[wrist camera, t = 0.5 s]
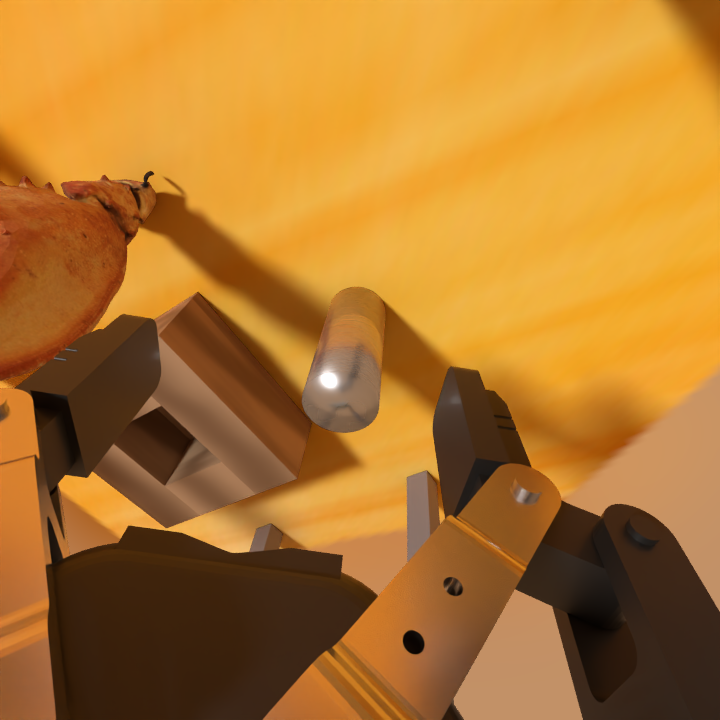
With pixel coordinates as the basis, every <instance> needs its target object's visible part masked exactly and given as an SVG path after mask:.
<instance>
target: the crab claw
mask: <svg viewBox="0 0 720 720" xmlns="http://www.w3.org/2000/svg"><path fill="white" fill-rule="evenodd" d="M152 175H154V173H153V172H152V171H150V172H148V173H146V174H145V176H144V182H137V181H132V180H113V181H111V180H109V179H108V178H107V177H106V176H105V175H103V176H102V178H101V180H98V181H70V182H63V183H62V184H61V186H62V189H63V191H64V194H65V195H66V196H67V197H68V198H69V199H68V198H66V197H63V196H61V195H59V194H57V193H56V192H55V191H54V189H53V187H52V185H51V183H50V182H49V183H47V184H46V185H45V186H44V187H42V188H36V187H35V186H34V185H33V184H32V182H31V181H30V180H29V179H28V178H27V177H26V176H23V177H22V179H21V181H20V184H19V186H7V185H5V184H4V183H3V182H1V181H0V381H2V380H6V379H9V378H13V377H16V376H19V375H22V374H26V373H28V372H31V371H33V370H35V369H37V368H39V367H41V366H43V365H45V364H46V363H47V362H48V361H50V360H51V359H53V360H54V357H55V356H56V355H57V354H59V353H60V352H61V351H62V350H66V347H67V346H69V345H70V344H71V343H73V342H74V341H75V340H76V339H78V338H79V337H81V336H83V335H86V334H88V333H91V331H92V330H93V329H94V327H95V326H96V325H97V324H98V323H99V321H100V319H101V318H102V316H103V315H104V313H105V312H106V310H107V308H108V306H109V304H110V302H111V301H112V299H113V297H114V296H115V294H116V293H117V292H118V291H119V289H120V287H121V285H122V282H123V280H124V276H125V271H126V263H127V245H128V244H129V243H130V242H131V241H132V239H133V238H134V237H135V236H136V234H137V232H138V225H139V224H138V223H141V224H143V223H144V222H145V220H146V218H147V217H148V216H149V214H150V213H151V212H152V210H153V208H154V206H155V204H156V193H155V191H154V190H153V189H152V187H151V185H150V183H149V182H147V180H148V177H149V176H152Z"/></svg>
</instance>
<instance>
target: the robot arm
mask: <svg viewBox="0 0 720 720" xmlns="http://www.w3.org/2000/svg"><path fill="white" fill-rule="evenodd" d="M160 377H161V361H160V351H159V341H158V332H157V325H156V322H155V321H154V320H153V319H151V318H144V317H138V316H132V315H125V314H123V315H120V316H119V317H118V318H116V319H115V320H114V321H113V322H112V323H110V324H109V325H108V326H107V327H106V328H104V329H103V330H102V329H98V330H96V331H93V332H91V333H88V334H86V335H83V336H81V337H79V338H78V339H76V340H75V341H74V342H73V343H71V344H70V345H69V346H67V347H66V350H62V351H61V352H60V353H59V354H57V355H56V356H55V357H54V360H53V359H51V360H50V361H48V362H47V363H46V364H45V365H43V366H42V367H41V368H40V369H38V370H37V371H36V372H35V373H33V374H32V375H31V376H29V377H28V378H27V379H26V380H24V381H23V382H22V383H21V384H19V385H18V386H17V387H15V388H14V389H13V388H0V720H464V719H463V717H462V716H461V715H460V713H459V711H458V710H457V709H456V707H455V705H454V704H453V702H452V700H453V698H454V697H455V695H456V693H457V691H458V689H459V688H460V686H461V684H462V682H463V681H464V679H465V677H466V675H467V674H468V672H469V670H470V668H471V666H472V665H473V663H474V661H475V659H476V657H477V656H478V654H479V652H480V650H481V649H482V647H483V645H484V643H485V641H486V640H487V638H488V636H489V634H490V632H491V631H492V629H493V627H494V625H495V623H496V622H497V620H498V618H499V616H500V615H501V613H502V611H503V609H504V608H505V606H506V603H507V602H508V600H509V599H510V596H511V595H512V593H513V591H514V590H515V589H516V590H518V591H520V592H522V593H525V594H527V595H529V596H532V597H533V598H535V599H538V600H540V601H542V602H544V603H546V604H549V605H551V606H552V607H553V610H554V614H555V618H556V622H557V625H558V629H559V633H560V636H561V640H562V643H563V648H564V651H565V655H566V658H567V662H568V666H569V670H570V673H571V677H572V680H573V684H574V688H575V691H576V695H577V699H578V702H579V706H580V710H581V713H582V717H583V720H720V612H719V610H718V608H717V607H716V605H715V603H714V602H713V600H712V598H711V597H710V595H709V593H708V592H707V590H706V588H705V586H704V585H703V583H702V581H701V580H700V578H699V577H698V575H697V573H696V571H695V570H694V568H693V566H692V565H691V563H690V561H689V560H688V558H687V556H686V555H685V553H684V551H683V550H682V548H681V546H680V545H679V543H678V541H677V540H676V538H675V537H674V535H673V534H672V533H671V532H670V530H669V529H668V528H667V527H666V526H664V524H662V523H661V522H660V521H659V520H657V519H656V518H655V517H653V516H652V515H650V514H648V513H647V512H645V511H643V510H641V509H638V508H636V507H633V506H629V505H624V504H615V505H611V506H609V507H608V508H607V509H606V510H605V511H604V513H603V514H602V516H601V517H600V516H598V515H595V514H593V513H590V512H588V511H585V510H582V509H580V508H577V507H575V506H572V505H570V504H568V503H566V502H564V501H562V500H561V496H560V493H559V491H558V489H557V488H556V486H555V485H554V484H553V482H552V481H550V480H549V479H548V478H547V477H546V476H545V475H543V474H542V473H540V472H539V471H537V470H535V469H533V468H532V467H531V465H530V462H529V460H528V457H527V455H526V452H525V449H524V447H523V444H522V442H521V439H520V437H519V434H518V432H517V431H516V427H515V424H514V422H513V420H511V418H512V417H511V414H510V412H509V409H508V407H507V404H506V403H505V402H504V401H503V400H502V399H501V398H500V397H499V396H498V395H497V393H496V392H495V391H490V390H485V388H484V385H483V382H482V380H481V377H480V374H479V372H478V371H477V370H471V369H465V368H458V367H452V366H451V367H450V368H449V369H448V371H447V374H446V377H445V380H444V384H443V387H442V390H441V393H440V397H439V400H438V403H437V406H436V410H435V414H434V419H433V437H434V444H435V451H436V458H437V465H438V472H439V479H440V486H441V493H442V500H443V507H444V513H445V520H444V521H443V522H442V523H441V524H440V525H439V527H438V528H437V529H436V530H435V531H434V532H433V534H432V535H431V536H430V537H429V538H428V539H427V540H426V542H425V543H424V544H423V545H422V546H421V547H420V549H419V550H418V551H417V552H416V553H415V554H414V556H413V557H412V558H411V559H410V560H409V561H408V562H407V564H406V565H405V566H404V567H403V568H402V569H401V571H400V572H399V573H398V574H397V575H396V576H395V577H394V579H393V580H392V581H391V582H390V583H389V584H388V586H387V587H386V588H385V589H384V590H383V591H382V592H381V594H380V595H379V596H378V595H377V594H376V593H374V592H373V591H372V590H371V589H370V588H368V587H367V586H365V585H364V584H363V583H361V582H360V581H358V580H356V579H354V578H352V577H351V576H348V575H346V574H344V573H342V572H341V568H342V557H343V555H337V554H330V553H321V552H315V551H308V550H301V549H294V548H287V549H276V550H266V551H255V552H245V553H230V552H227V551H225V550H222V549H220V548H217V547H215V546H212V545H210V544H208V543H205V542H203V541H200V540H198V539H195V538H193V537H191V536H188V535H186V534H183V533H179V532H171V531H164V530H157V529H150V528H143V527H135V526H128V528H127V529H126V531H125V533H124V534H123V536H122V538H121V539H120V541H119V543H113V544H107V545H102V546H97V547H94V548H90V549H87V550H84V551H81V552H78V553H76V554H73V555H70V552H69V546H68V540H67V532H66V526H65V519H64V512H63V506H62V500H61V493H60V489H59V486H58V483H59V482H60V480H61V479H62V478H63V477H64V476H65V475H71V476H78V477H85V478H87V477H88V476H89V475H90V474H91V472H92V471H93V470H94V468H95V467H96V466H97V465H98V463H99V462H100V461H101V459H102V458H103V457H104V456H105V454H106V453H107V452H108V450H109V449H110V448H111V447H112V445H113V444H114V443H115V441H116V440H117V439H118V438H119V436H120V435H121V434H122V432H123V431H124V430H125V429H126V427H127V426H128V425H129V424H130V422H131V421H132V420H133V418H134V417H135V416H136V415H137V413H138V412H139V411H140V409H141V408H142V407H143V406H144V404H145V403H146V402H147V400H148V399H149V398H150V397H151V395H152V394H153V393H154V391H155V390H156V388H157V386H158V384H159V381H160Z"/></svg>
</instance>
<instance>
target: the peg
mask: <svg viewBox="0 0 720 720" xmlns="http://www.w3.org/2000/svg"><path fill="white" fill-rule="evenodd" d="M385 318H386V310H385V306H384V303H383V301H382V300H381V298H380V297H379V296H378V295H377V294H376V293H374V292H373V291H371V290H369V289H366V288H362V287H350V288H347V289H344V290H342V291H340V292H339V293H338V294H336V296H335V297H334V298H333V300H332V301H331V304H330V307H329V310H328V314H327V317H326V320H325V323H324V327H323V330H322V333H321V336H320V340H319V343H318V346H317V349H316V353H315V356H314V359H313V362H312V365H311V369H310V372H309V375H308V378H307V382H306V385H305V388H304V391H303V395H302V405H303V408H304V411H305V412H306V414H307V416H308V417H309V418H310V419H311V420H312V421H313V422H314V423H316V424H317V425H319V426H320V427H322V428H324V429H327V430H330V431H334V432H341V433H348V432H354V431H358V430H361V429H363V428H365V427H367V426H368V425H369V424H371V423H372V422H373V420H374V419H375V418H376V416H377V414H378V410H379V400H380V386H381V372H382V359H383V345H384V332H385Z"/></svg>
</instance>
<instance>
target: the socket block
mask: <svg viewBox="0 0 720 720" xmlns="http://www.w3.org/2000/svg"><path fill="white" fill-rule="evenodd" d="M154 321H155V322H156V325H157V332H158V341H159V351H160V361H161V377H160V381H159V384H158V386H157V388H156V390H155V391H154V393H153V394H152V395H151V397H150V398H149V399H148V400H147V402H146V403H145V404H144V406H143V407H142V408H141V409H140V411H139V412H138V413H137V415H136V416H135V417H134V418H133V420H132V421H131V422H130V424H129V425H128V426H127V427H126V429H125V430H124V431H123V432H122V434H121V435H120V436H119V438H118V439H117V440H116V441H115V443H114V444H113V445H112V447H111V448H110V449H109V450H108V452H107V453H106V454H105V456H104V457H103V458H102V459H101V461H100V462H99V463H98V465H97V466H96V467H95V468H94V470H93V472H94V473H95V474H97V475H98V476H99V477H101V478H102V479H103V480H104V481H106V482H107V483H108V484H110V485H111V486H112V487H113V488H115V489H116V490H117V491H119V492H120V493H121V494H123V495H124V496H125V497H126V498H128V499H129V500H130V501H132V502H133V503H134V504H135V505H137V506H138V507H139V508H141V509H142V510H143V511H145V512H146V513H147V514H148V515H150V516H151V517H152V518H154V519H155V520H156V521H157V522H159V523H160V524H161V525H163V526H164V527H165V528H169V527H171V526H174V525H176V524H179V523H182V522H184V521H187V520H190V519H192V518H195V517H198V516H200V515H203V514H205V513H208V512H211V511H213V510H216V509H219V508H221V507H224V506H227V505H229V504H232V503H235V502H237V501H240V500H242V499H245V498H248V497H250V496H253V495H256V494H258V493H261V492H264V491H266V490H269V489H271V488H274V487H277V486H279V485H282V484H285V483H287V482H290V481H293V480H295V479H297V478H298V474H299V470H300V466H301V463H302V459H303V455H304V451H305V447H306V443H307V439H308V435H309V432H310V428H311V424H312V423H311V422H310V421H309V420H308V419H307V417H306V416H305V415H304V414H303V413H302V412H301V410H300V409H299V408H298V407H297V406H296V405H295V404H294V402H293V401H292V400H291V399H290V398H289V397H288V396H287V394H286V393H285V392H284V391H283V390H282V389H281V387H280V386H279V385H278V384H277V383H276V382H275V381H274V379H273V378H272V377H271V376H270V375H269V374H268V372H267V371H266V370H265V369H264V368H263V367H262V366H261V364H260V363H259V362H258V361H257V360H256V359H255V357H254V356H253V355H252V354H251V353H250V352H249V351H248V349H247V348H246V347H245V346H244V345H243V344H242V342H241V341H240V340H239V339H238V338H237V337H236V336H235V334H234V333H233V332H232V331H231V330H230V329H229V327H228V326H227V325H226V324H225V323H224V322H223V321H222V319H221V318H220V317H219V316H218V315H217V314H216V312H215V311H214V310H213V309H212V308H211V307H210V306H209V304H208V303H207V302H206V301H205V300H204V299H203V297H202V296H201V295H200V294H199V293H198V292H197V293H195V294H194V295H192V296H191V297H189V298H188V299H186V300H184V301H183V302H181V303H180V304H178V305H177V306H175V307H173V308H172V309H170V310H169V311H167V312H166V313H164V314H162V315H161V316H159V317H158V318H156V319H155V320H154Z"/></svg>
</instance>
